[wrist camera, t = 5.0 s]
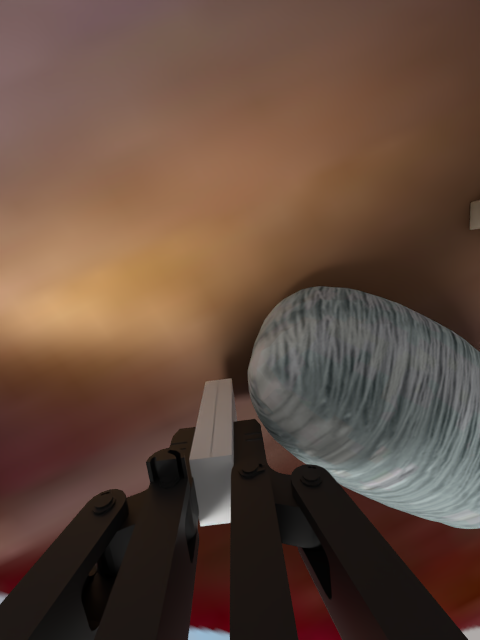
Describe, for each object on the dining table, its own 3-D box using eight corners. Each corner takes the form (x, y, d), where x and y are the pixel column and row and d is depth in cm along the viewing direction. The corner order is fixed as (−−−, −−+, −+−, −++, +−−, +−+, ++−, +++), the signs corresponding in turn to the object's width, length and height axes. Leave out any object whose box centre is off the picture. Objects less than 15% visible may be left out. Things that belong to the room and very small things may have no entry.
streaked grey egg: (560, 379, 15) (732, 609, 7) (410, 452, 21) (416, 627, 13) (347, 219, 17) (296, 268, 9) (260, 328, 22) (180, 419, 14)
